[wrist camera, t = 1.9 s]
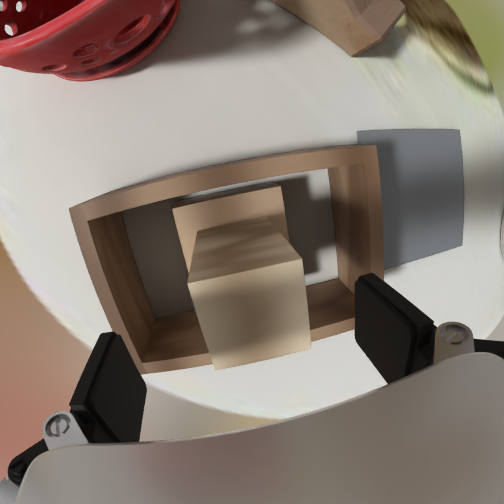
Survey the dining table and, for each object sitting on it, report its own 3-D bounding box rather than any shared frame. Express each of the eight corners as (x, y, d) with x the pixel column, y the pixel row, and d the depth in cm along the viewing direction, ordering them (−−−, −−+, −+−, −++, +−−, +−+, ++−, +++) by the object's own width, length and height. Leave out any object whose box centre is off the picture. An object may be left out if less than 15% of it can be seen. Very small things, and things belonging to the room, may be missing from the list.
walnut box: (336, 145, 21) (376, 145, 15) (349, 285, 25) (382, 320, 19) (103, 193, 20) (68, 208, 14) (148, 329, 24) (134, 375, 18)
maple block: (266, 216, 19) (302, 258, 11) (276, 279, 20) (311, 348, 13) (197, 230, 18) (187, 283, 11) (212, 292, 20) (215, 370, 12)
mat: (455, 129, 21) (459, 129, 21) (458, 243, 25) (462, 245, 25) (356, 131, 20) (360, 131, 20) (368, 270, 25) (371, 272, 24)
